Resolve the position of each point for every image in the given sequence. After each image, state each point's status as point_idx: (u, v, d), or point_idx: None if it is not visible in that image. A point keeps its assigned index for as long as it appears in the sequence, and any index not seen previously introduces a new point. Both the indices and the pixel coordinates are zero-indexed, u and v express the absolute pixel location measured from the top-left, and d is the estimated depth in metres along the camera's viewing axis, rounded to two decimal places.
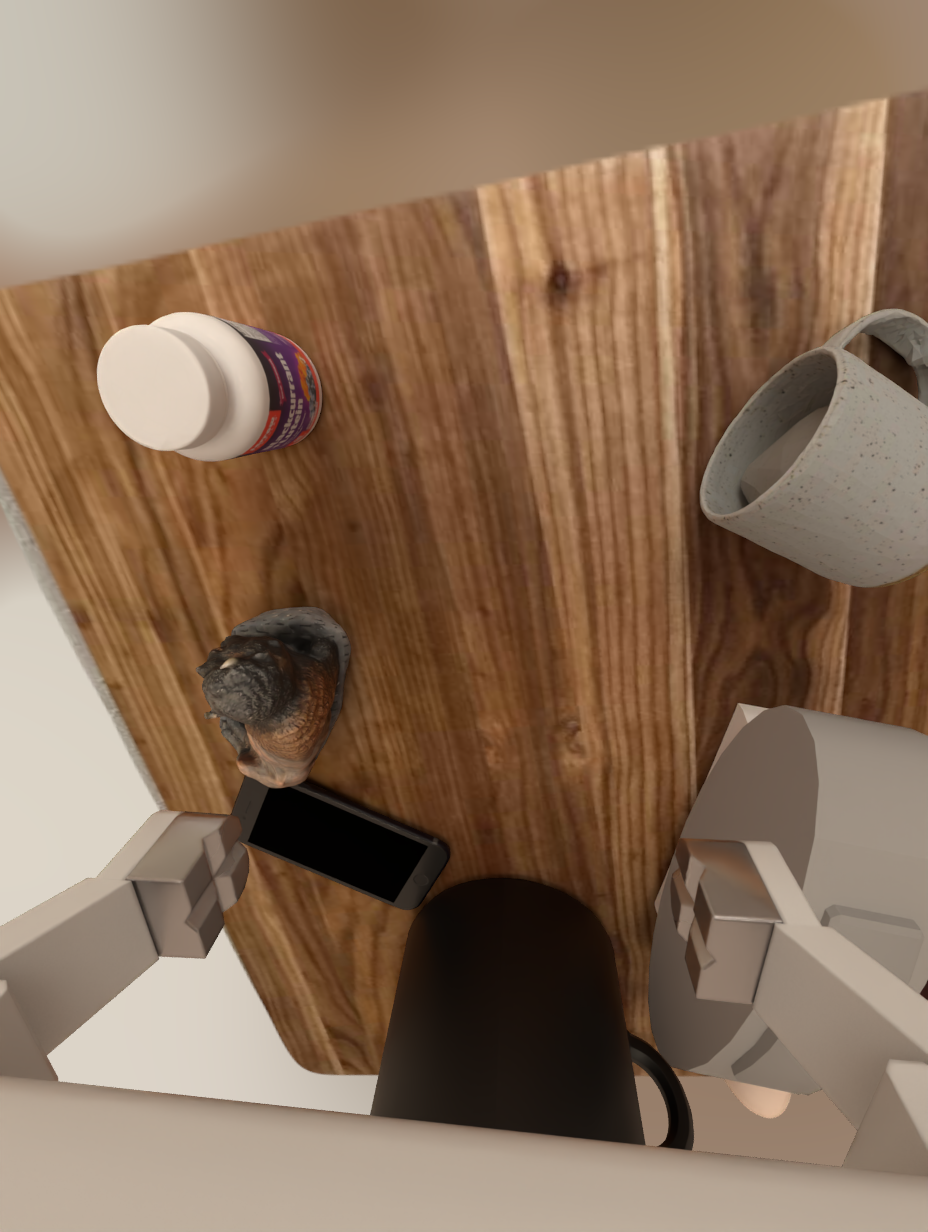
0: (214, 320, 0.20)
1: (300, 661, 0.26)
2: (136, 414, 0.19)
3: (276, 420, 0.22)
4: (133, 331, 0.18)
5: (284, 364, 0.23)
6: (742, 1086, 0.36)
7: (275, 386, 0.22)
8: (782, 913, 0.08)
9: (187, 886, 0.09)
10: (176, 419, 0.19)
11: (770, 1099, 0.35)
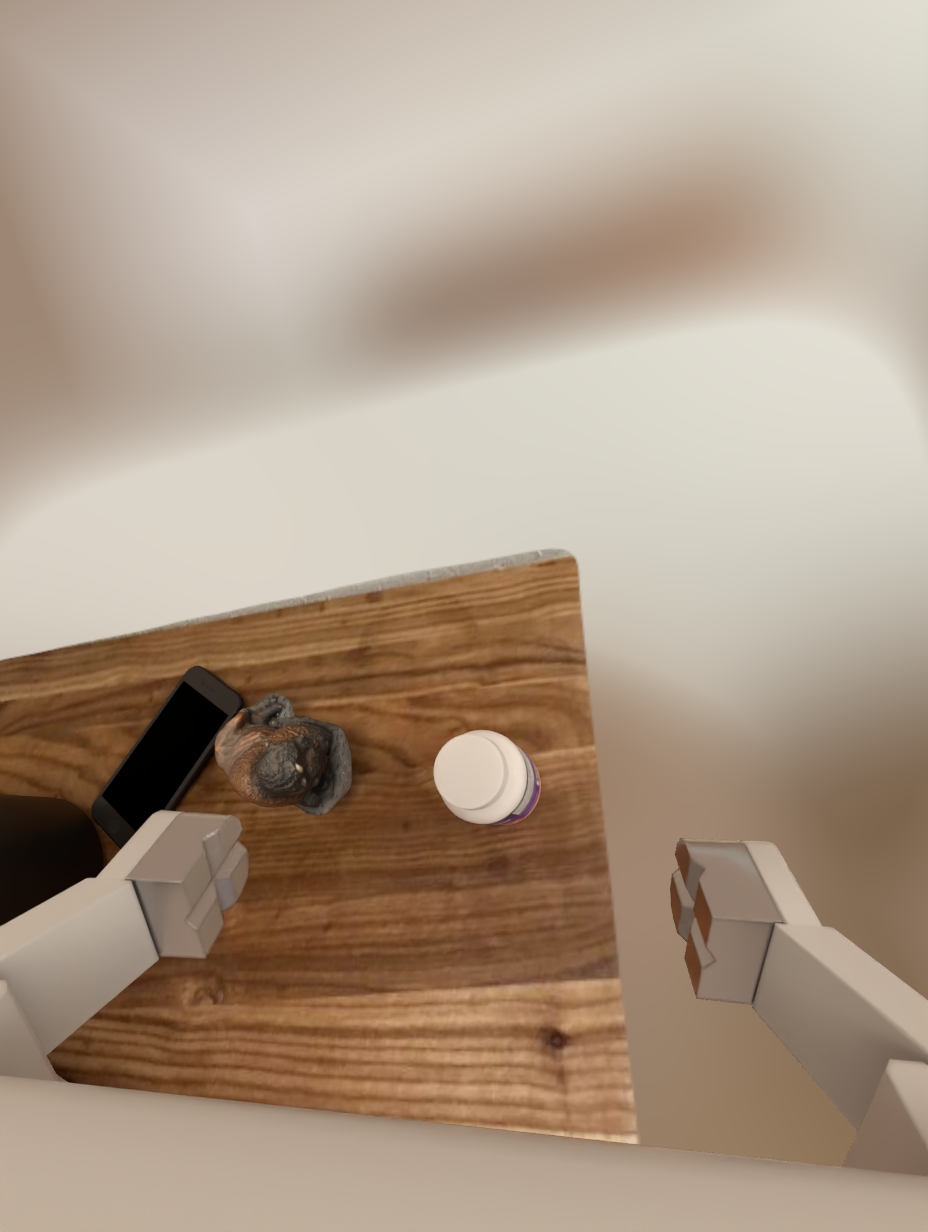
0: (518, 800, 0.31)
1: (301, 792, 0.35)
2: (456, 754, 0.30)
3: None
4: (500, 769, 0.29)
5: (503, 822, 0.33)
6: None
7: None
8: (782, 913, 0.08)
9: (187, 886, 0.09)
10: (449, 780, 0.29)
11: None
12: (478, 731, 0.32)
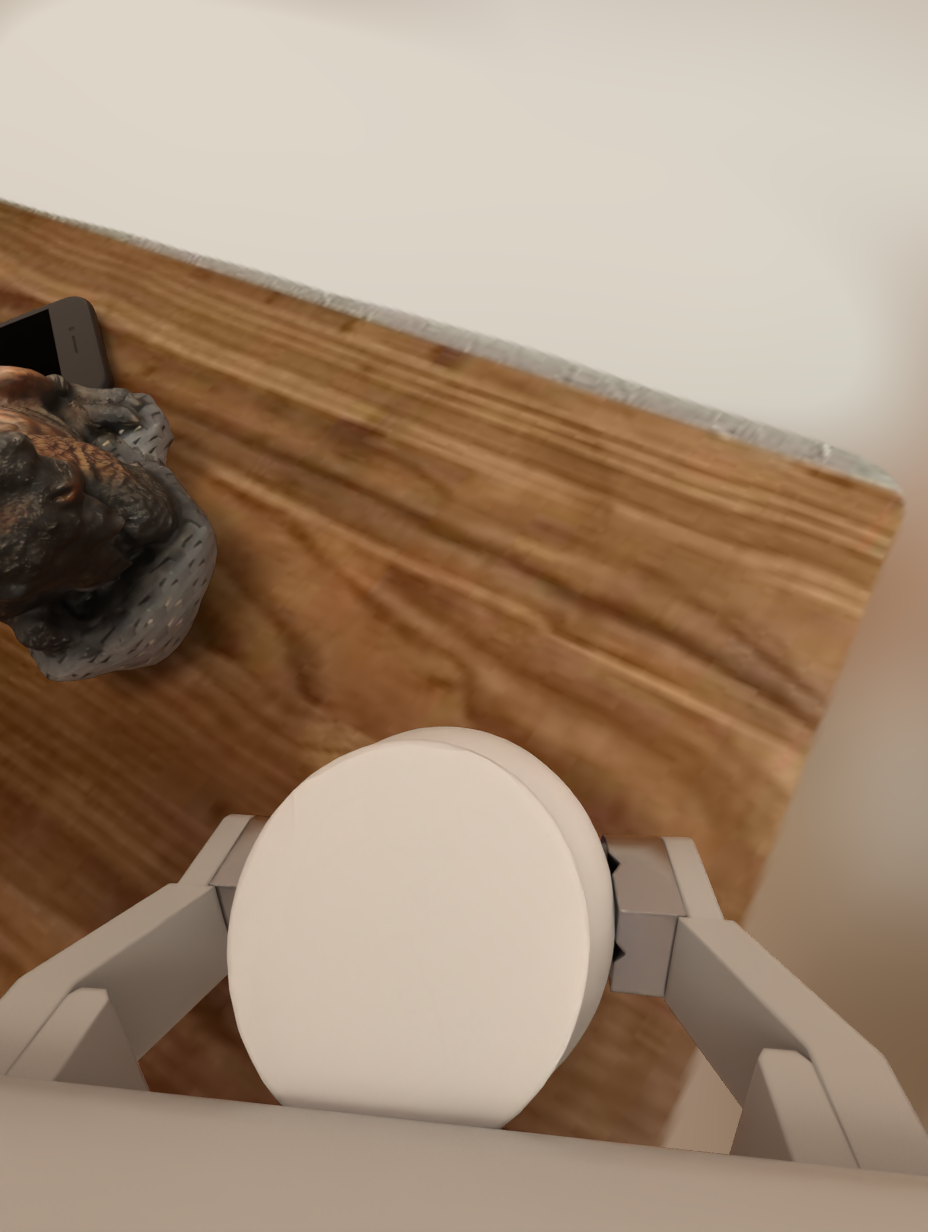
0: None
1: None
2: (396, 817, 0.06)
3: None
4: (551, 1036, 0.05)
5: None
6: None
7: None
8: (687, 907, 0.08)
9: None
10: (300, 913, 0.06)
11: None
12: (519, 753, 0.09)
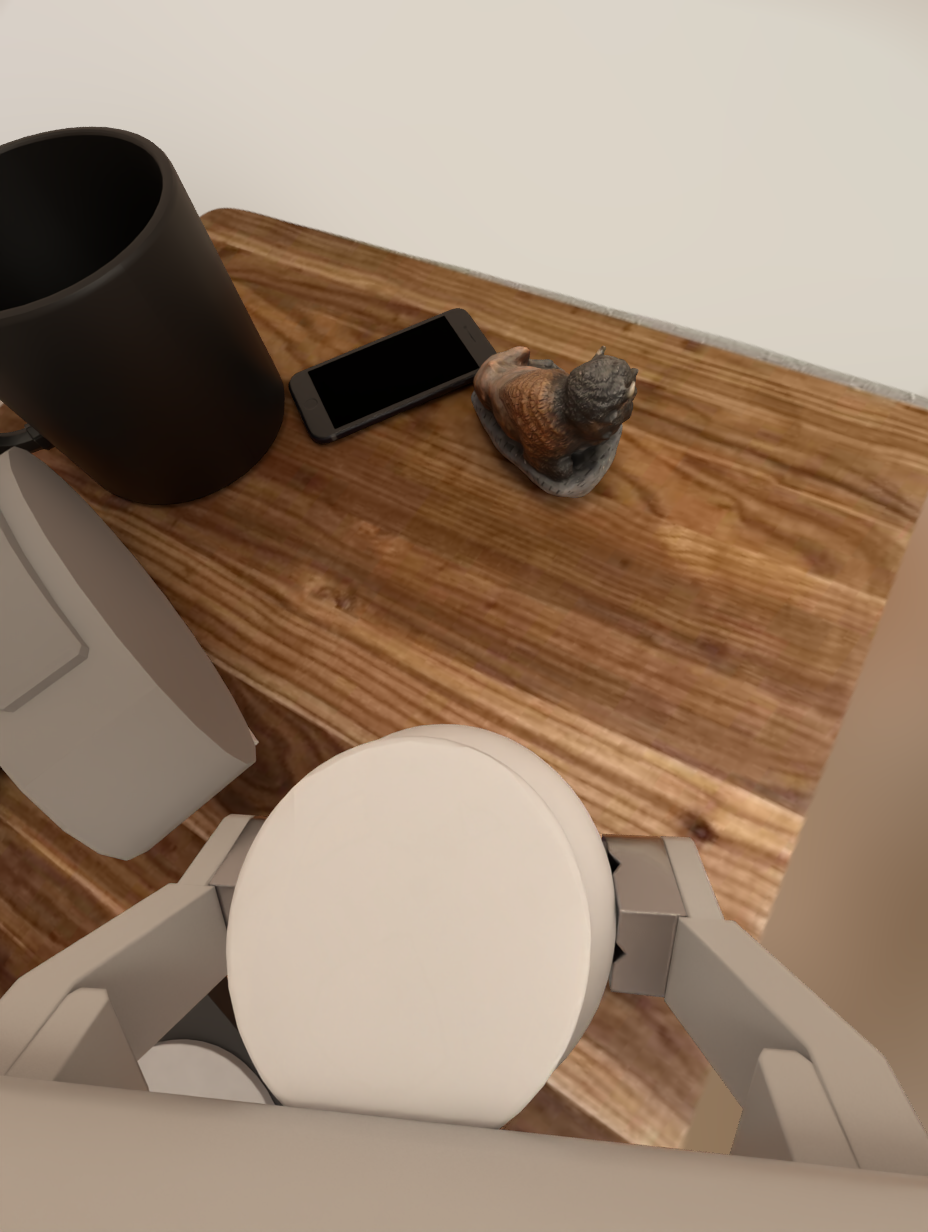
0: None
1: (575, 443, 0.30)
2: (397, 814, 0.06)
3: None
4: (552, 1034, 0.05)
5: None
6: None
7: None
8: (687, 907, 0.08)
9: None
10: (300, 910, 0.06)
11: None
12: (519, 750, 0.09)
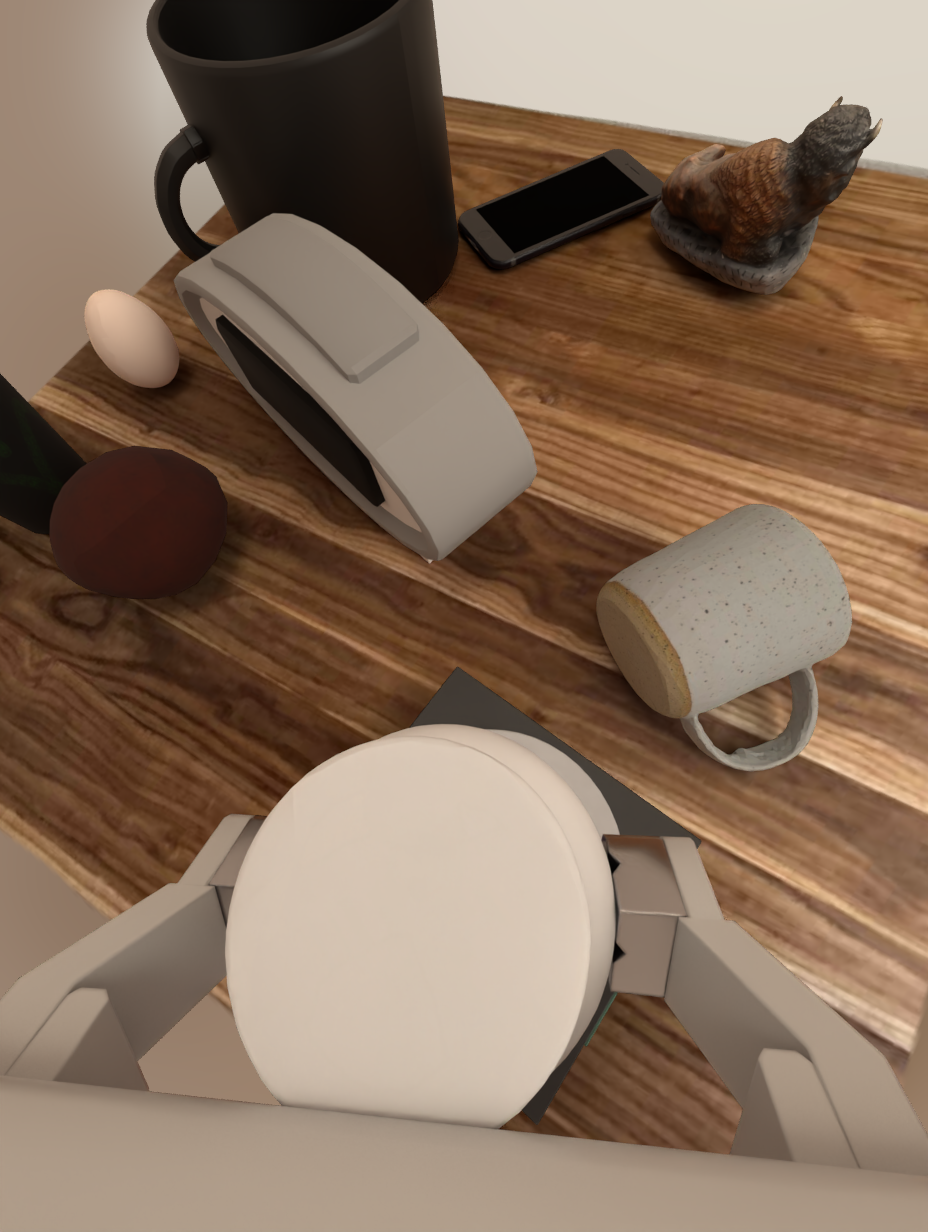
0: None
1: (793, 213, 0.31)
2: (396, 814, 0.06)
3: None
4: (552, 1034, 0.05)
5: None
6: (134, 300, 0.34)
7: None
8: (687, 907, 0.08)
9: None
10: (299, 910, 0.06)
11: (111, 306, 0.33)
12: (519, 750, 0.09)
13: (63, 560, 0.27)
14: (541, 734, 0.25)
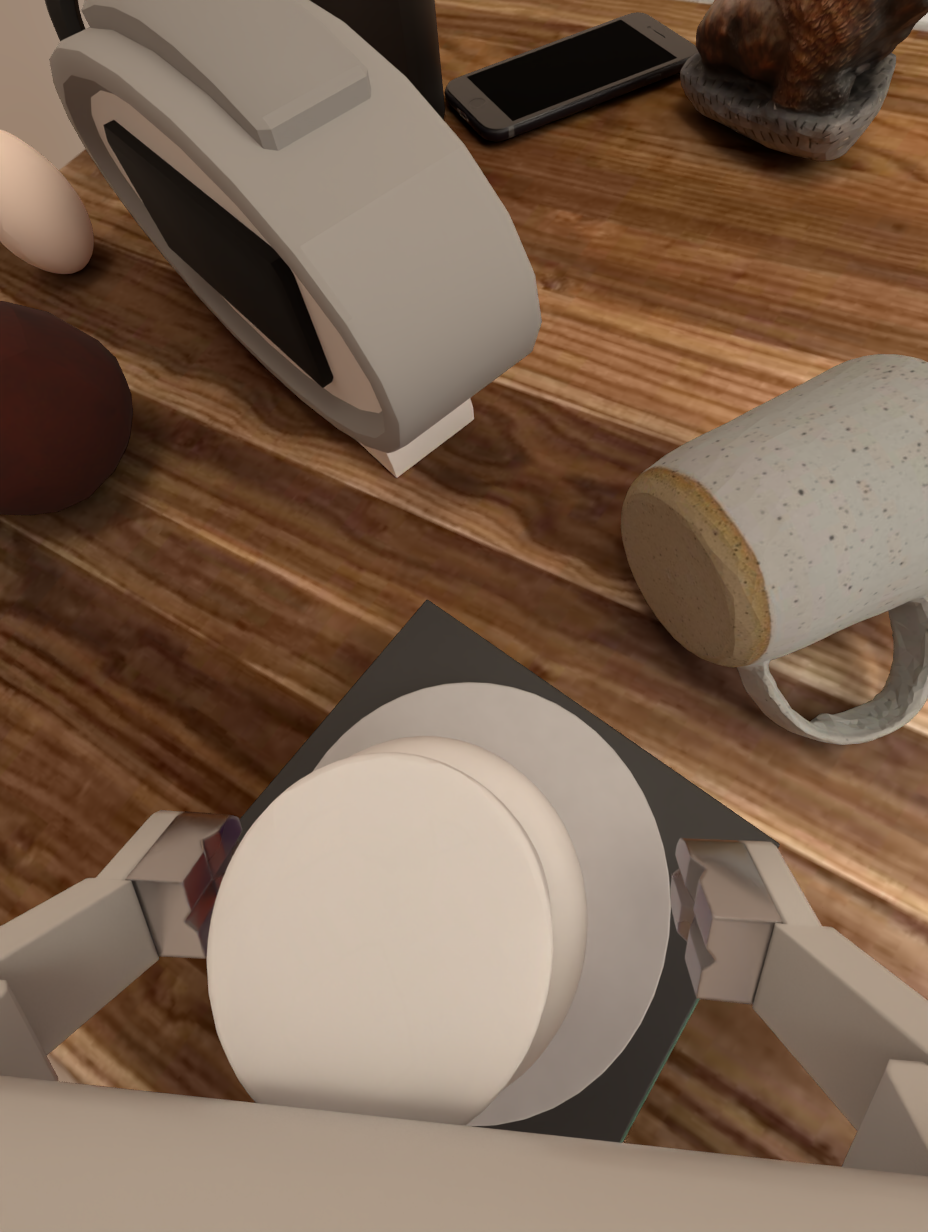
0: None
1: (875, 29, 0.24)
2: (371, 828, 0.06)
3: None
4: (514, 1038, 0.06)
5: None
6: (24, 144, 0.27)
7: None
8: (782, 913, 0.08)
9: (187, 886, 0.09)
10: (278, 919, 0.06)
11: None
12: (496, 762, 0.09)
13: None
14: (543, 690, 0.17)
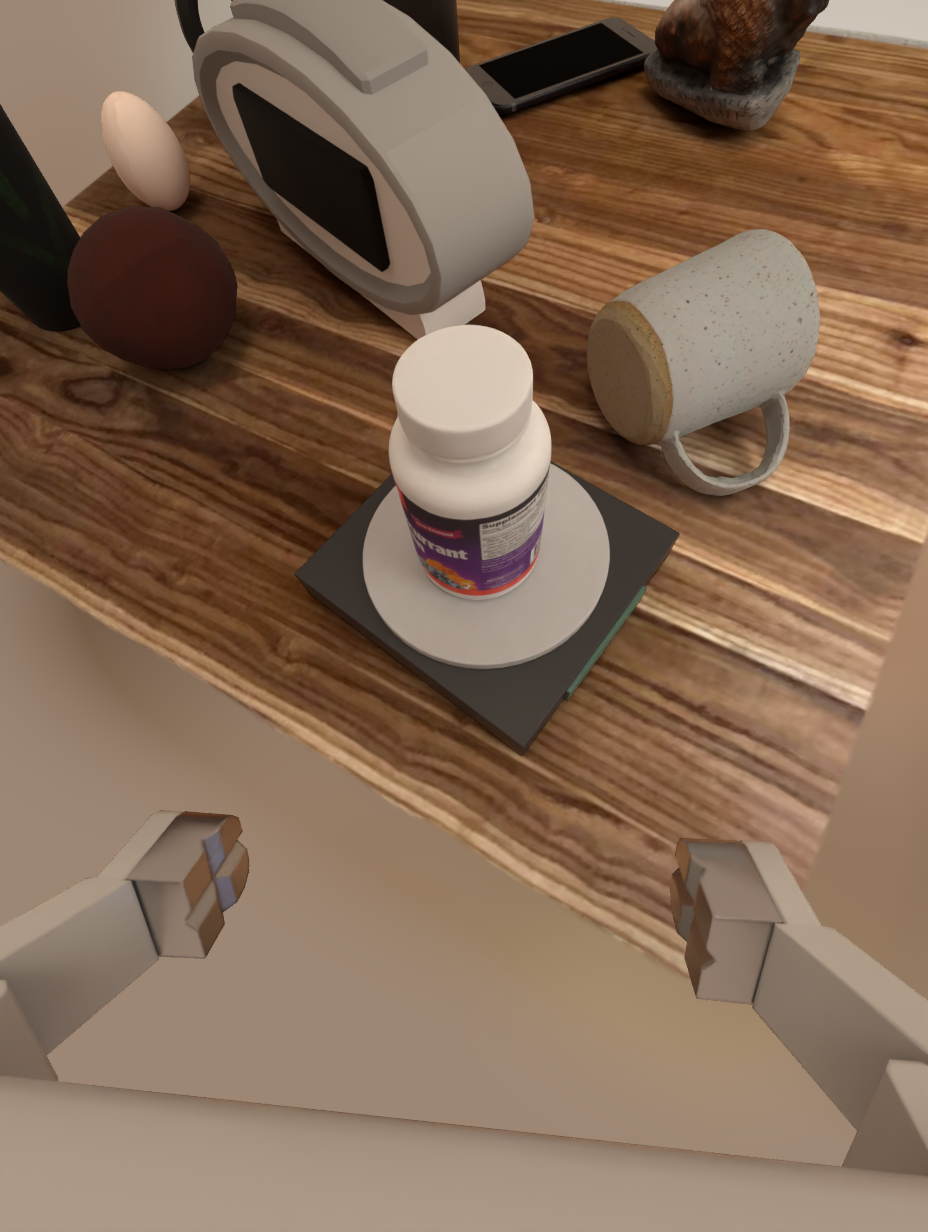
0: (504, 502, 0.17)
1: (777, 31, 0.33)
2: (457, 346, 0.15)
3: (400, 499, 0.19)
4: (517, 397, 0.15)
5: (453, 554, 0.19)
6: (149, 106, 0.36)
7: (423, 519, 0.18)
8: (782, 913, 0.08)
9: (187, 886, 0.09)
10: (421, 374, 0.15)
11: (128, 105, 0.35)
12: None
13: (81, 302, 0.28)
14: None
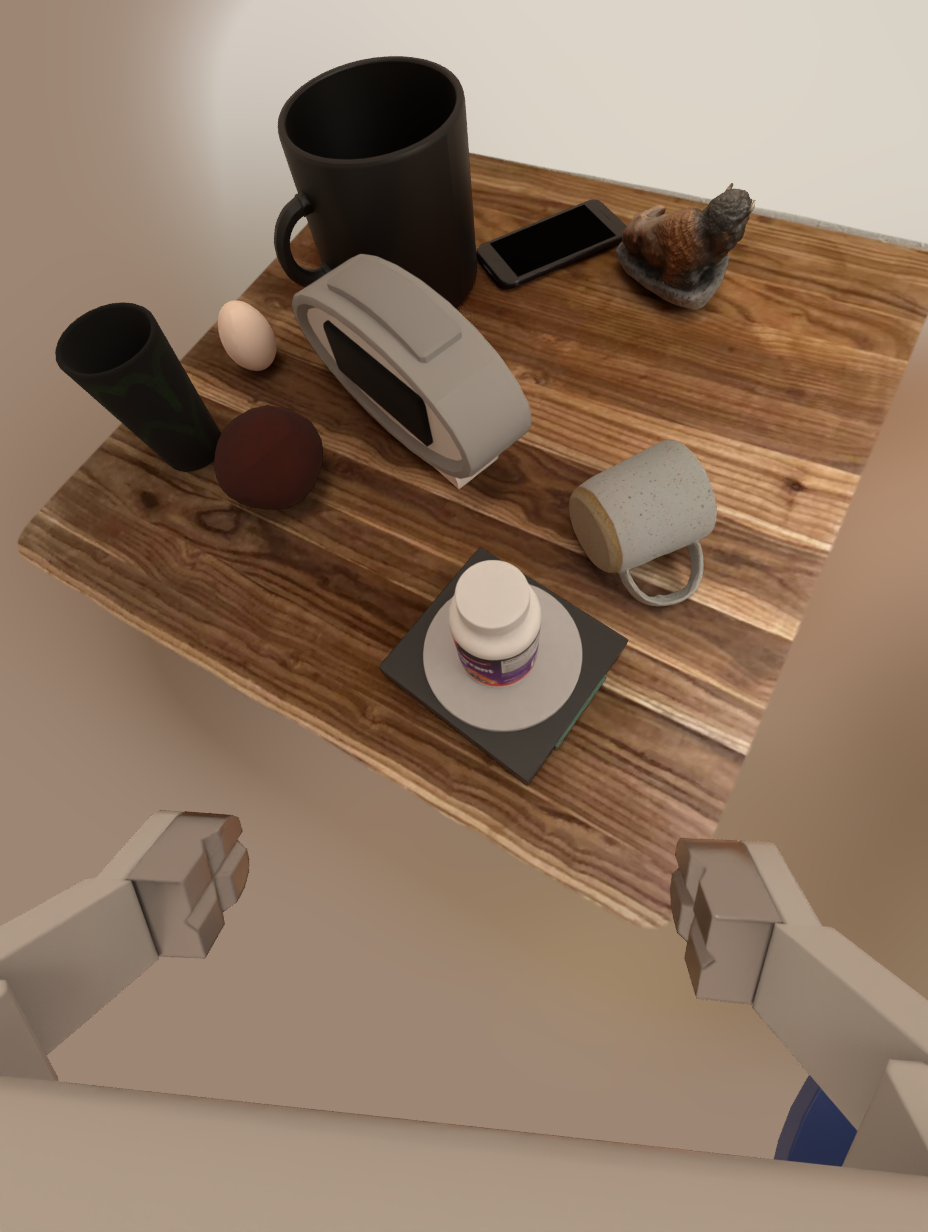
0: (515, 652, 0.30)
1: (706, 256, 0.46)
2: (489, 574, 0.29)
3: (454, 641, 0.32)
4: (521, 608, 0.28)
5: (485, 670, 0.33)
6: (252, 308, 0.49)
7: (468, 656, 0.31)
8: (782, 913, 0.08)
9: (187, 886, 0.09)
10: (470, 592, 0.28)
11: (239, 312, 0.48)
12: None
13: (225, 477, 0.42)
14: (533, 584, 0.40)
